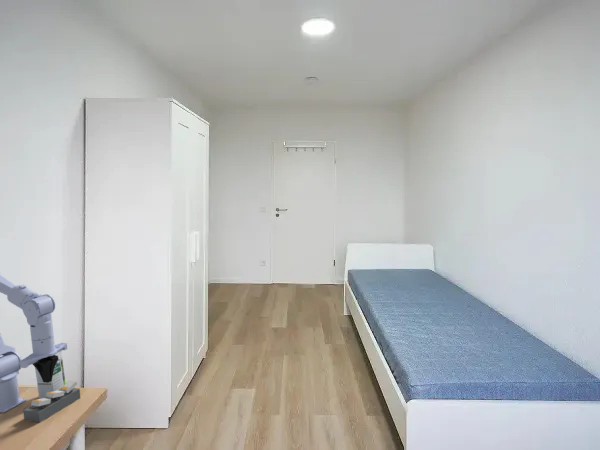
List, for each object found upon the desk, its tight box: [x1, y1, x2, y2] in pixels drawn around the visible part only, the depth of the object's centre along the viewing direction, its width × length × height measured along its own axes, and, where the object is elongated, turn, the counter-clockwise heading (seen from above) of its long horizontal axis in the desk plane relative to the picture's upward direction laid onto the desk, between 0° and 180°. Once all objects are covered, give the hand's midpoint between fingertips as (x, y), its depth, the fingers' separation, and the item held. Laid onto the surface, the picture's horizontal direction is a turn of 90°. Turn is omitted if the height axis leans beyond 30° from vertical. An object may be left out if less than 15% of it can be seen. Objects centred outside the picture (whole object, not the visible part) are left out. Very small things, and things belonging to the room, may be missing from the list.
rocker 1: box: [30, 398, 51, 406], centre depth 132 cm, size 3×4×1 cm
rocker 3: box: [60, 380, 78, 393], centre depth 141 cm, size 3×4×1 cm
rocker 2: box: [46, 390, 64, 398], centre depth 136 cm, size 3×4×1 cm
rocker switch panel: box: [22, 387, 81, 423], centre depth 137 cm, size 6×15×4 cm, turn 161°
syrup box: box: [34, 351, 66, 399], centre depth 146 cm, size 6×6×14 cm
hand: (47, 381), depth 134 cm, fingers closed
